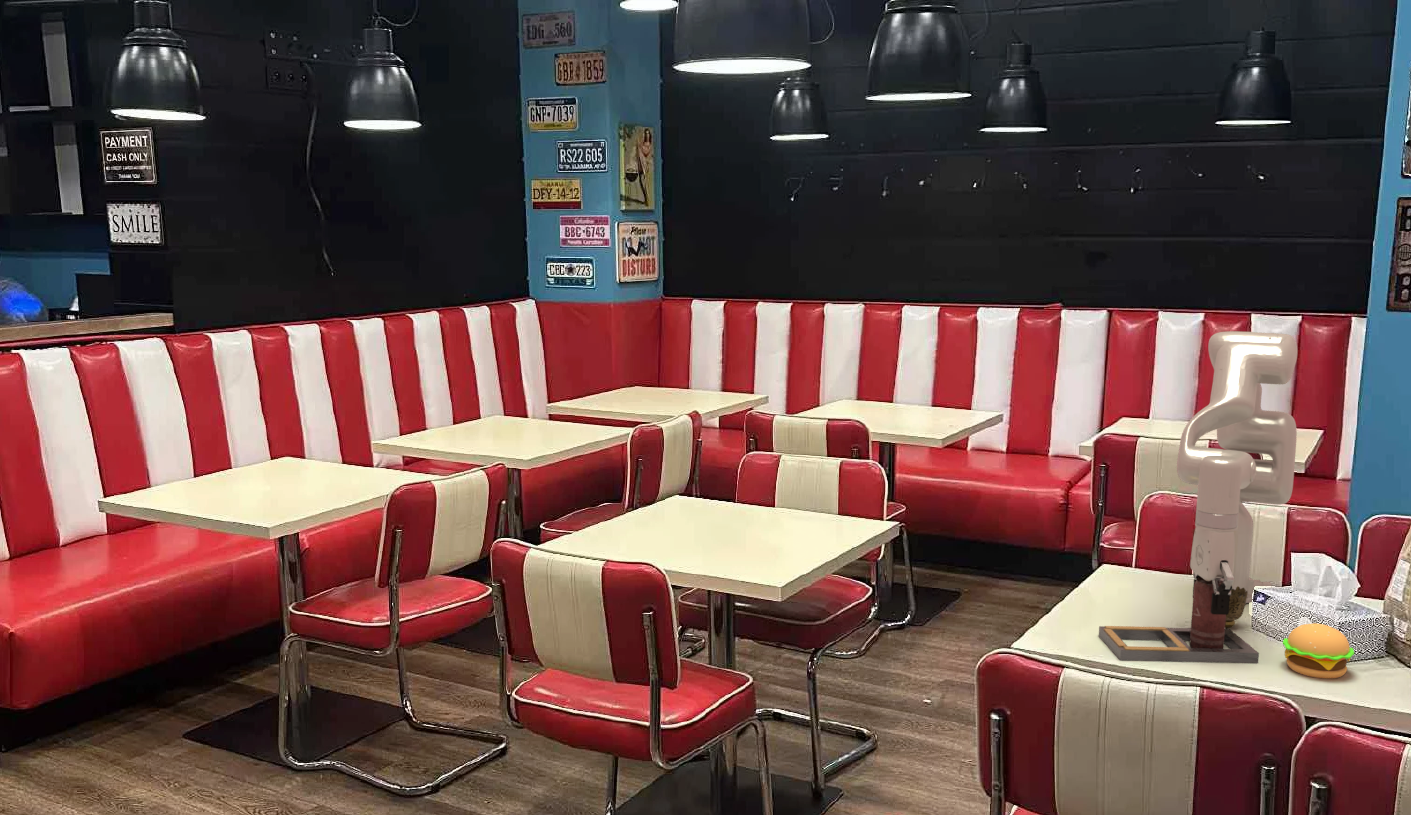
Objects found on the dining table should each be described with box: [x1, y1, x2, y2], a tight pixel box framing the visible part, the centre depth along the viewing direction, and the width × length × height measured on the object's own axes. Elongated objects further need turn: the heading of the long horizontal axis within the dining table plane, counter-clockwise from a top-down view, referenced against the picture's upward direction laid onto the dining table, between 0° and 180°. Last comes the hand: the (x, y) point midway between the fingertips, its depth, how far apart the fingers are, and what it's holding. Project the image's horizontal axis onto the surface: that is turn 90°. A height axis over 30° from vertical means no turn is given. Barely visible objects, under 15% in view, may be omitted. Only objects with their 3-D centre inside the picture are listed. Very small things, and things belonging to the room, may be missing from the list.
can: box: [1189, 577, 1226, 649], centre depth 237 cm, size 6×6×14 cm
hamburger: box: [1282, 622, 1355, 680], centre depth 228 cm, size 12×12×9 cm
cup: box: [1225, 586, 1248, 629], centre depth 253 cm, size 8×7×8 cm
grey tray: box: [1098, 625, 1260, 664], centre depth 239 cm, size 26×14×2 cm, turn 88°
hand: (1210, 606), depth 237 cm, fingers open, 8 cm apart
